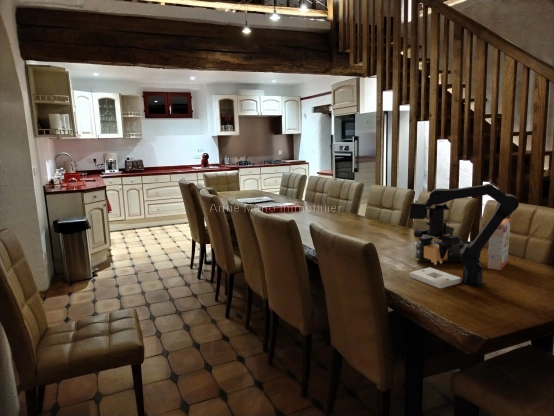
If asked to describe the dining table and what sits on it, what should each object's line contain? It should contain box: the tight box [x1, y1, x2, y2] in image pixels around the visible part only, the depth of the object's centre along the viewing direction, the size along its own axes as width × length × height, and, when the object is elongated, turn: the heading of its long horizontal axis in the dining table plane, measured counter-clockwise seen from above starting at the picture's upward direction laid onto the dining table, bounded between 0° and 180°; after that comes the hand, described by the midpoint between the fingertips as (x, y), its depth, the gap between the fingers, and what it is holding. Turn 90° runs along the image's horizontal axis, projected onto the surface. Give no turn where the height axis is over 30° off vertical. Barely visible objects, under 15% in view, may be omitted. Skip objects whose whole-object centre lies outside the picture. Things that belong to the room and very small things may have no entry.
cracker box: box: [486, 218, 512, 271], centre depth 174 cm, size 14×6×21 cm, turn 139°
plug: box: [424, 244, 448, 265], centre depth 160 cm, size 6×6×7 cm
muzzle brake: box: [413, 239, 481, 263], centre depth 184 cm, size 10×28×10 cm, turn 79°
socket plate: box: [409, 266, 462, 289], centre depth 162 cm, size 16×12×2 cm
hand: (435, 256), depth 161 cm, fingers closed on plug, 6 cm apart
